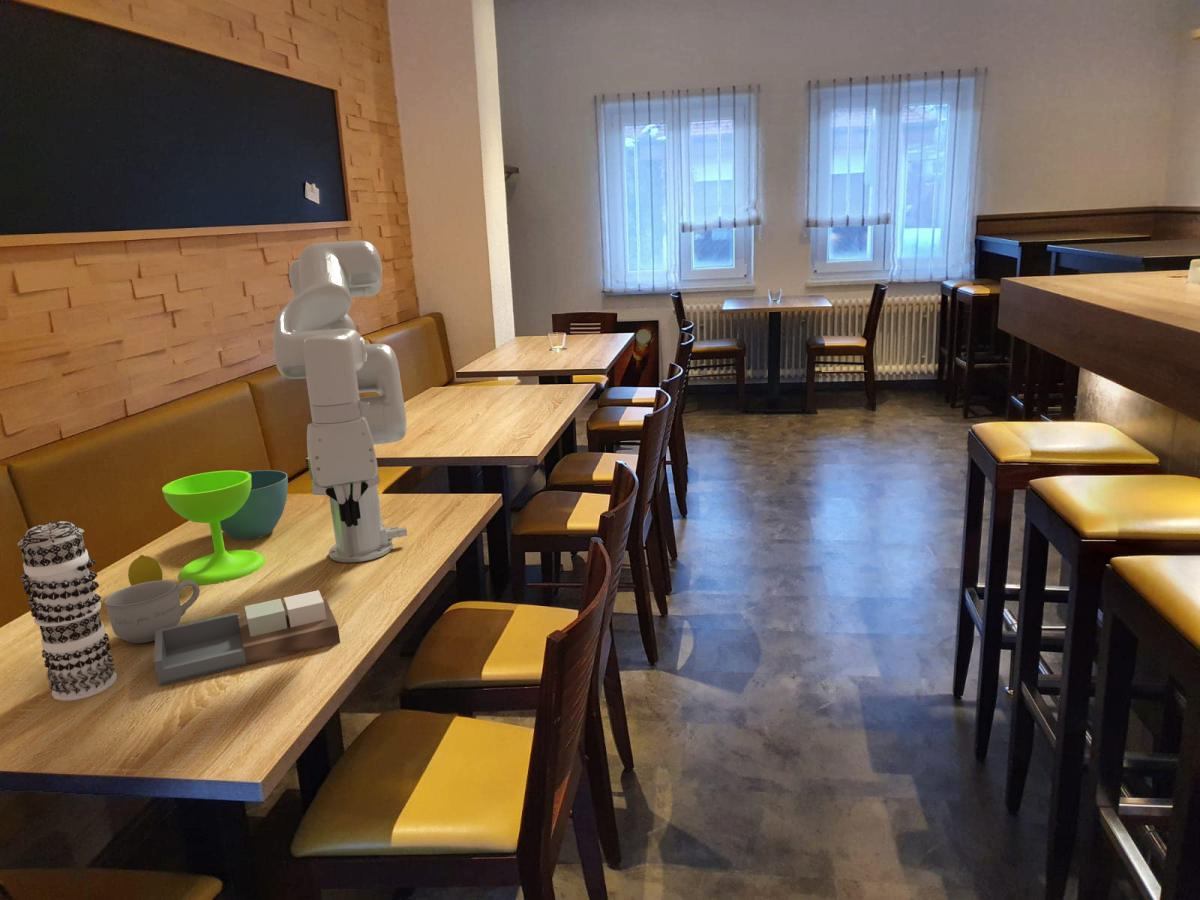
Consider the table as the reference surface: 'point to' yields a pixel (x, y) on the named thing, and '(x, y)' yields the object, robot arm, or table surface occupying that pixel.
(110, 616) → the teacup
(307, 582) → the table surface
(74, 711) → the table surface
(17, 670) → the table surface
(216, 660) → the box
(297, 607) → the white tile
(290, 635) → the walnut wavy ramp
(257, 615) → the sage tile
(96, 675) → the decorative candle
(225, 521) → the plant pot
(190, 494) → the wineglass
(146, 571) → the lemon
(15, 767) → the table surface
